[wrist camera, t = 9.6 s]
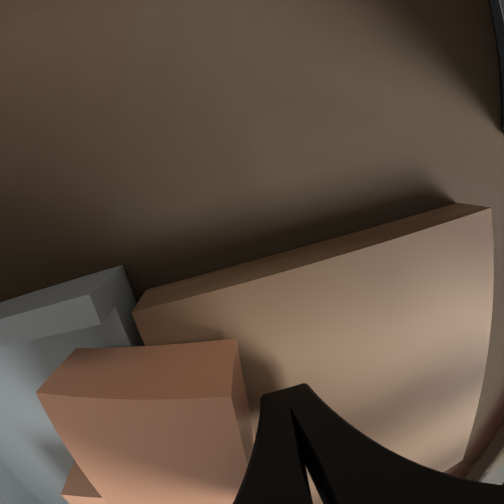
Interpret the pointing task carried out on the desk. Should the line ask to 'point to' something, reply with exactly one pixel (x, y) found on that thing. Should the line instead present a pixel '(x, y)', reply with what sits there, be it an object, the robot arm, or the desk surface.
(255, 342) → the plate
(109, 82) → the desk surface
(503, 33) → the small box
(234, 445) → the tile near
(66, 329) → the tray
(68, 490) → the tile far
